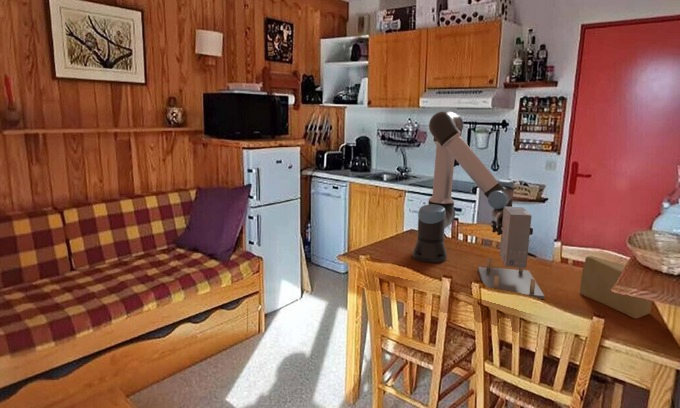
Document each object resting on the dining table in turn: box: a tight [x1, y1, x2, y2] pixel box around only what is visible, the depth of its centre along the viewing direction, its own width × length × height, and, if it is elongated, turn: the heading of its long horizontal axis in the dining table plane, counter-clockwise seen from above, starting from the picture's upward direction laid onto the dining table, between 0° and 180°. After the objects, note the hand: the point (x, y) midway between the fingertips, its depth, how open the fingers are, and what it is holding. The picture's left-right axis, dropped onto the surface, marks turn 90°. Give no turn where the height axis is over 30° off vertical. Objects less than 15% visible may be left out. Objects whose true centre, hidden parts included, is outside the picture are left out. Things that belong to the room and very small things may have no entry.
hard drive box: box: [499, 206, 533, 269], centre depth 172 cm, size 16×8×20 cm, turn 169°
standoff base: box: [477, 257, 545, 300], centre depth 175 cm, size 20×26×6 cm
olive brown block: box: [579, 255, 653, 319], centre depth 157 cm, size 22×10×15 cm, turn 30°
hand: (516, 235), depth 169 cm, fingers closed on hard drive box, 7 cm apart
